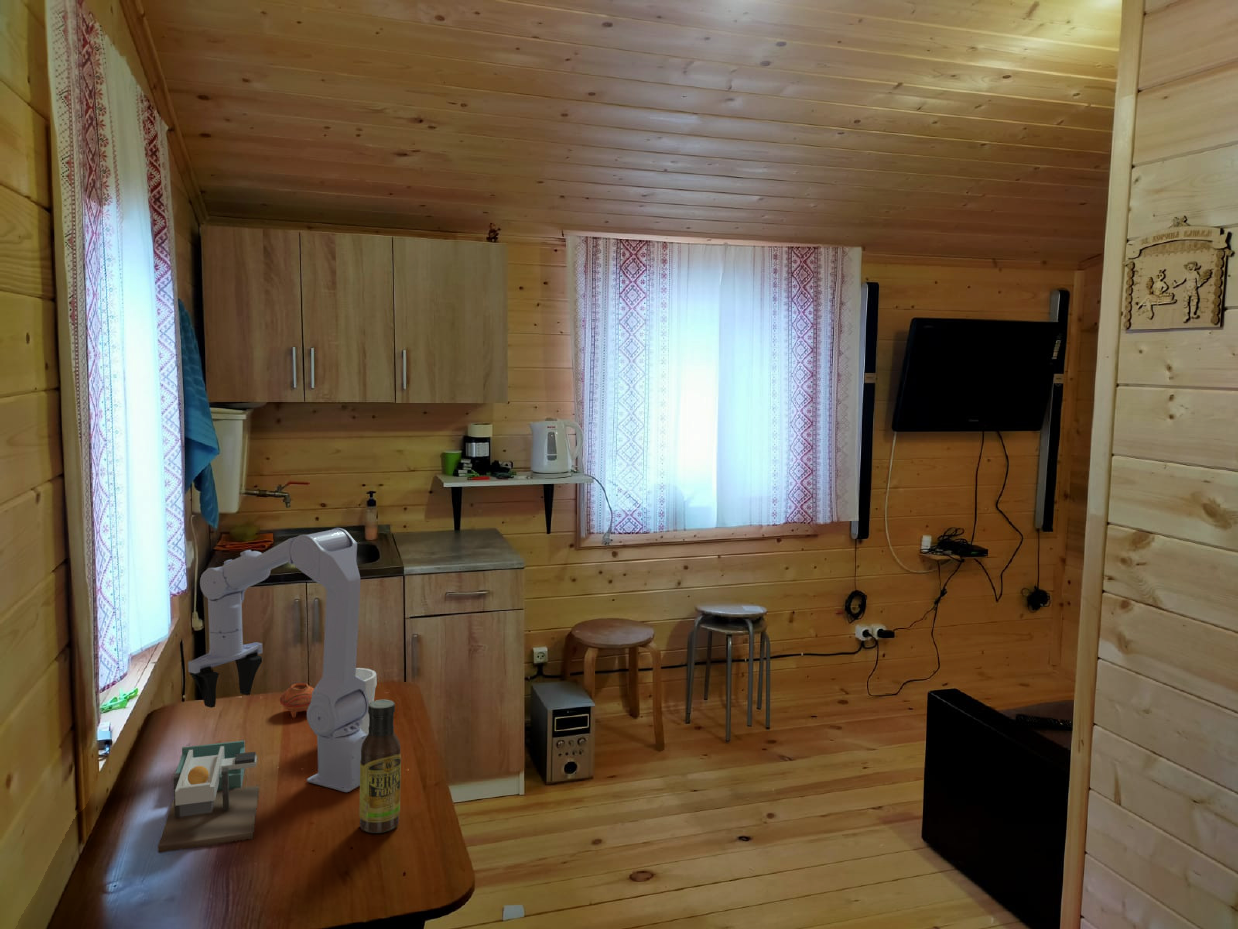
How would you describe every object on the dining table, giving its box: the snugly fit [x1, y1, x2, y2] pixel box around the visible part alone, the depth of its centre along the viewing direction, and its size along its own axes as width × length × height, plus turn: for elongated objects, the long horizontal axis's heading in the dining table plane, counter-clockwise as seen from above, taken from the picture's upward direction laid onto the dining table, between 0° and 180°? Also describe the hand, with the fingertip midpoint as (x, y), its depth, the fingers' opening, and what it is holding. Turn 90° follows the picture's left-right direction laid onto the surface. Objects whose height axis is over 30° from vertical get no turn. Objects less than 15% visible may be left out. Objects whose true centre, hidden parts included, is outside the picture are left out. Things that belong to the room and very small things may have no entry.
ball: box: [188, 766, 209, 785], centre depth 138 cm, size 3×3×3 cm
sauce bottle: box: [358, 698, 402, 834], centre depth 139 cm, size 6×6×20 cm
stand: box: [157, 767, 260, 853], centre depth 141 cm, size 17×13×8 cm
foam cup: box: [356, 667, 378, 735], centre depth 173 cm, size 10×9×13 cm
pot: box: [278, 682, 315, 718], centre depth 188 cm, size 8×8×7 cm
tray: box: [175, 746, 258, 817], centre depth 142 cm, size 16×11×5 cm, turn 19°
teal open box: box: [175, 739, 246, 791], centre depth 154 cm, size 10×10×5 cm
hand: (228, 700), depth 167 cm, fingers open, 7 cm apart
